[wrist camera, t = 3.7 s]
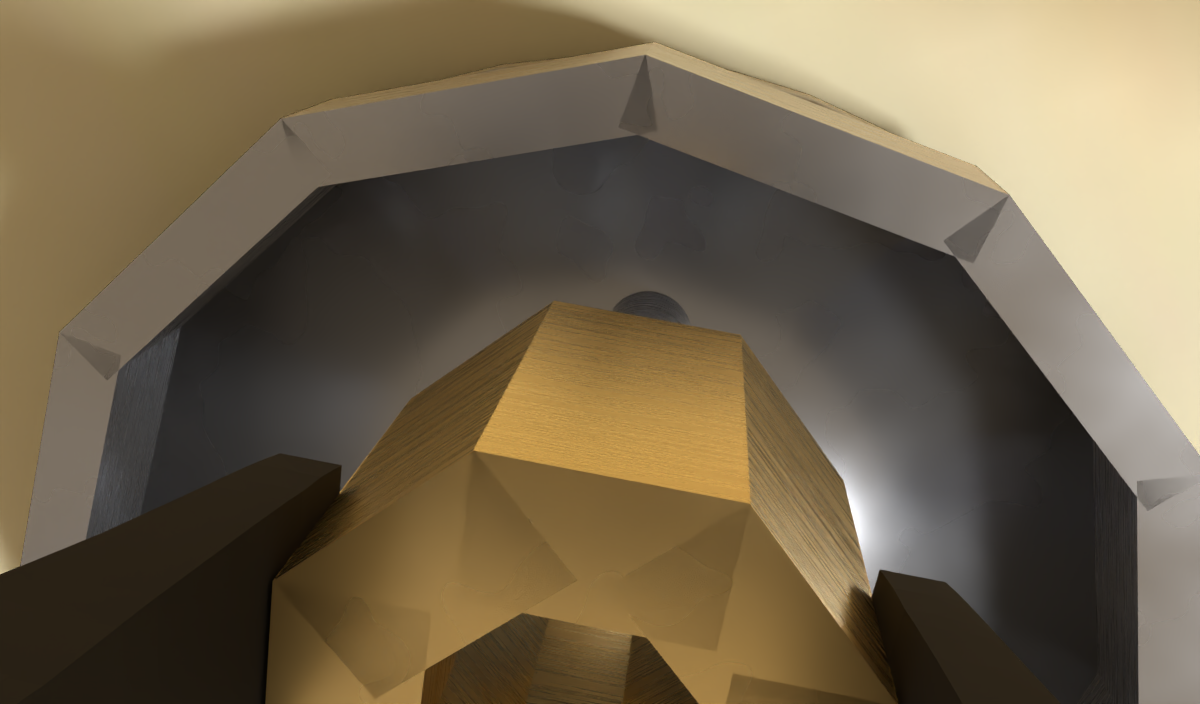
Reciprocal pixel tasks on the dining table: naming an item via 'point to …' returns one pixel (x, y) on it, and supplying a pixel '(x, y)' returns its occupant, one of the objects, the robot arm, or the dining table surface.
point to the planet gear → (586, 538)
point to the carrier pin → (652, 307)
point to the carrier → (711, 300)
